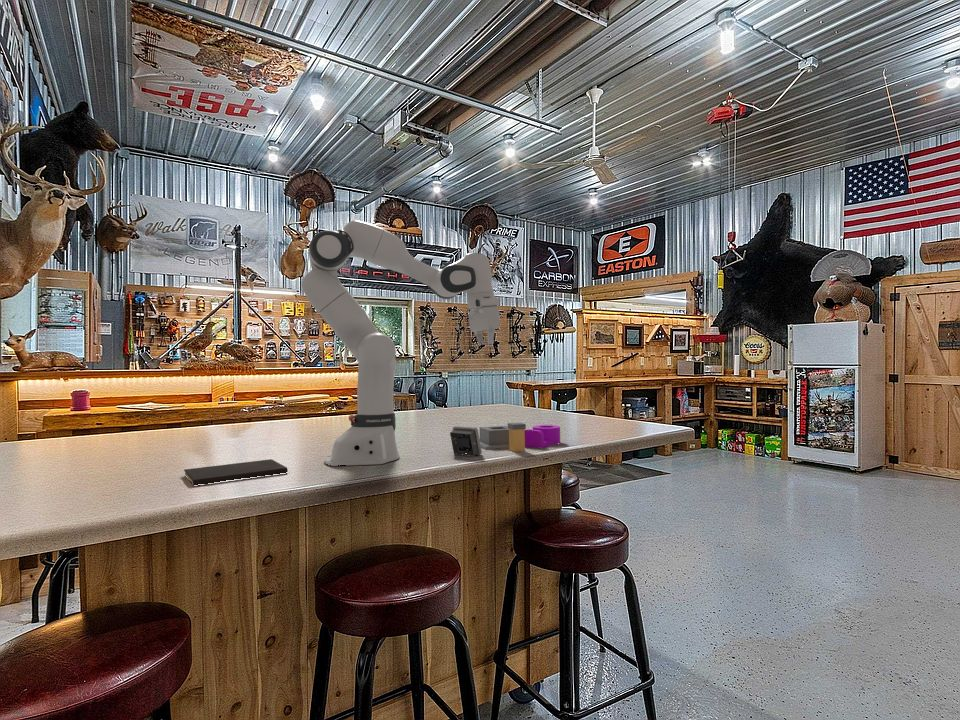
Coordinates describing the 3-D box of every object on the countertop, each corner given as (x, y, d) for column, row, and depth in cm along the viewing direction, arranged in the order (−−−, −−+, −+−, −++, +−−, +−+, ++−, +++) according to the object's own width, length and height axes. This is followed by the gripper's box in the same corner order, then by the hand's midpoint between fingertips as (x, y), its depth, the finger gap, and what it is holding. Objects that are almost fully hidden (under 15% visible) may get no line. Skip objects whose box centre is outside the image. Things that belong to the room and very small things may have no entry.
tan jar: (513, 452, 173) (512, 424, 173) (507, 449, 178) (507, 423, 178) (526, 451, 175) (525, 424, 175) (520, 449, 179) (520, 422, 179)
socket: (485, 449, 179) (485, 431, 179) (472, 443, 192) (472, 426, 192) (523, 446, 184) (523, 429, 184) (508, 440, 197) (508, 424, 197)
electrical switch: (482, 455, 170) (480, 426, 169) (473, 459, 165) (471, 430, 164) (458, 452, 175) (456, 424, 174) (449, 456, 170) (447, 428, 170)
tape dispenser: (541, 441, 199) (541, 424, 198) (565, 443, 193) (564, 426, 193) (518, 447, 186) (518, 429, 186) (543, 449, 180) (543, 431, 180)
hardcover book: (184, 477, 144) (183, 469, 144) (271, 466, 158) (271, 459, 158) (193, 489, 131) (192, 479, 131) (287, 476, 145) (287, 467, 145)
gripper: (462, 306, 183) (467, 346, 184) (482, 300, 164) (487, 344, 164) (480, 304, 185) (484, 344, 186) (501, 298, 166) (505, 342, 166)
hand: (485, 344), depth 175 cm, fingers open, 8 cm apart
